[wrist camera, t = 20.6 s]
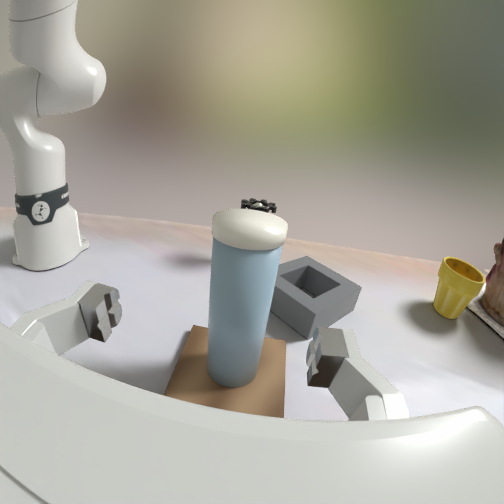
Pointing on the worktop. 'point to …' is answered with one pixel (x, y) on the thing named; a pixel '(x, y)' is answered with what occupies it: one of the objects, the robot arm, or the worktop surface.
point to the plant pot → (456, 287)
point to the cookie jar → (492, 294)
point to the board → (232, 399)
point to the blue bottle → (241, 291)
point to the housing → (304, 306)
